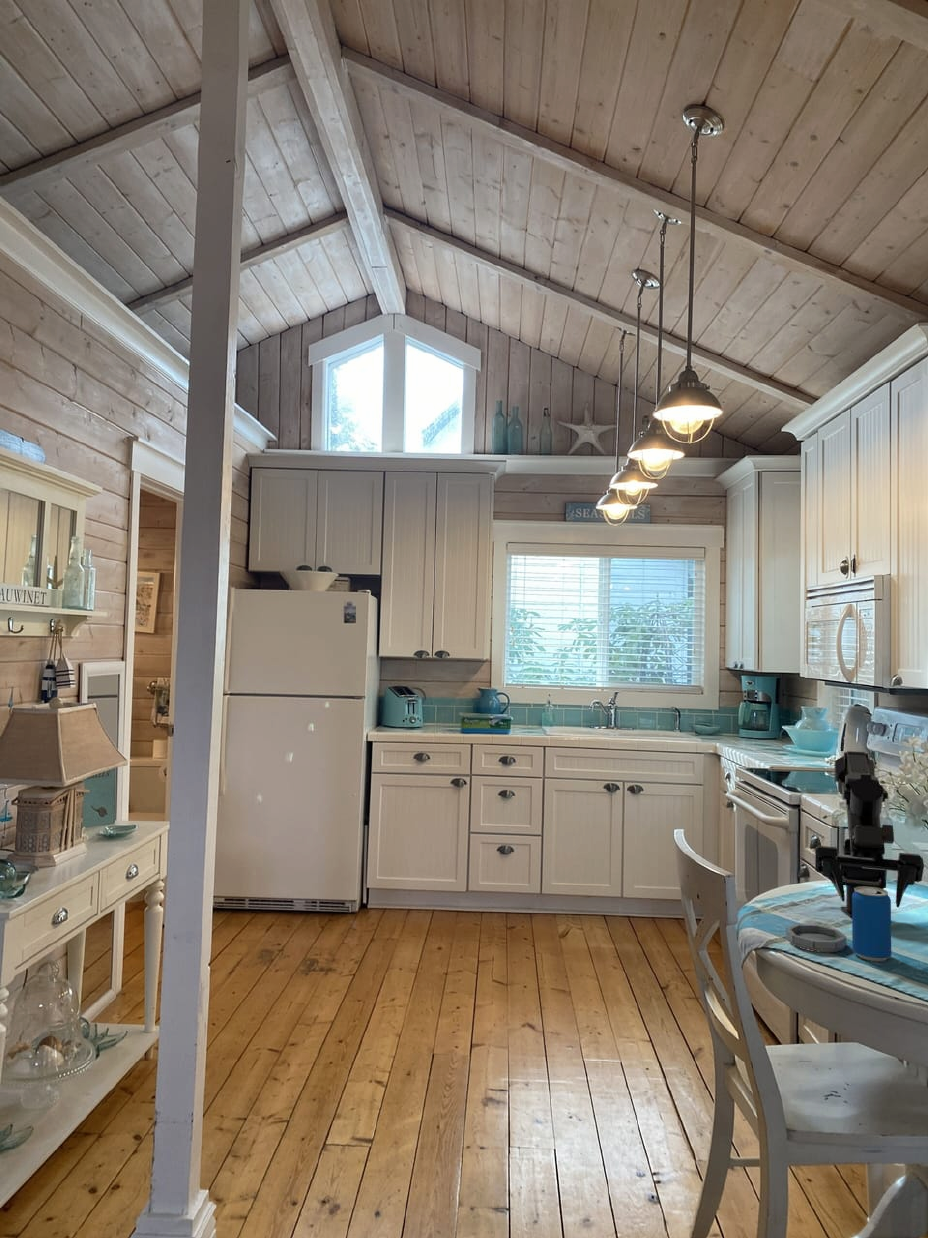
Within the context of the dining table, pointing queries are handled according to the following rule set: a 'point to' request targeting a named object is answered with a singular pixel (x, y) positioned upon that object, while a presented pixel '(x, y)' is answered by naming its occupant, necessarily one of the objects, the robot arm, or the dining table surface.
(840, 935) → the tray
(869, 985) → the dining table surface
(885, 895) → the beverage can
